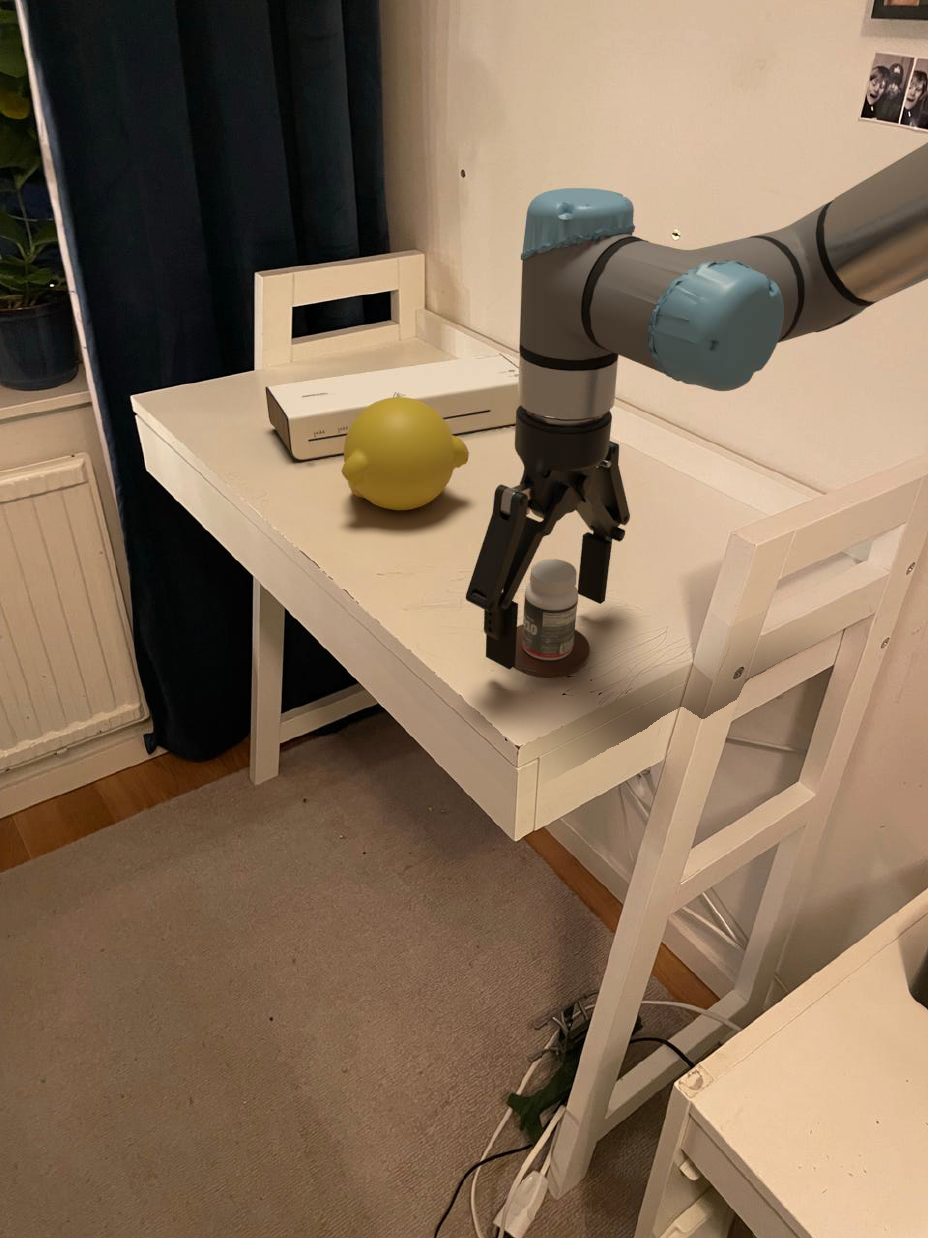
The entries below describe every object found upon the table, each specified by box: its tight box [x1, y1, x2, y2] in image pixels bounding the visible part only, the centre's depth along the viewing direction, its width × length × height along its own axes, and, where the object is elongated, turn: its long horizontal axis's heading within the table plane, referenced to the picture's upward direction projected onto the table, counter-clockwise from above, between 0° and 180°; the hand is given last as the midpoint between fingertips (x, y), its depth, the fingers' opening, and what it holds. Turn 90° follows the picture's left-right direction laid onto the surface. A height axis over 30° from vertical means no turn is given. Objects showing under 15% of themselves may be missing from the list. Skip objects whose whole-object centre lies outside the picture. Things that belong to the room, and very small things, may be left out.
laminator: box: [264, 352, 520, 462], centre depth 126 cm, size 34×12×6 cm, turn 113°
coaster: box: [513, 624, 591, 678], centre depth 87 cm, size 8×8×1 cm
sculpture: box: [341, 397, 470, 511], centre depth 106 cm, size 15×13×13 cm
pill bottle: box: [522, 558, 579, 660], centre depth 84 cm, size 5×5×8 cm
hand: (547, 628), depth 85 cm, fingers open, 13 cm apart
